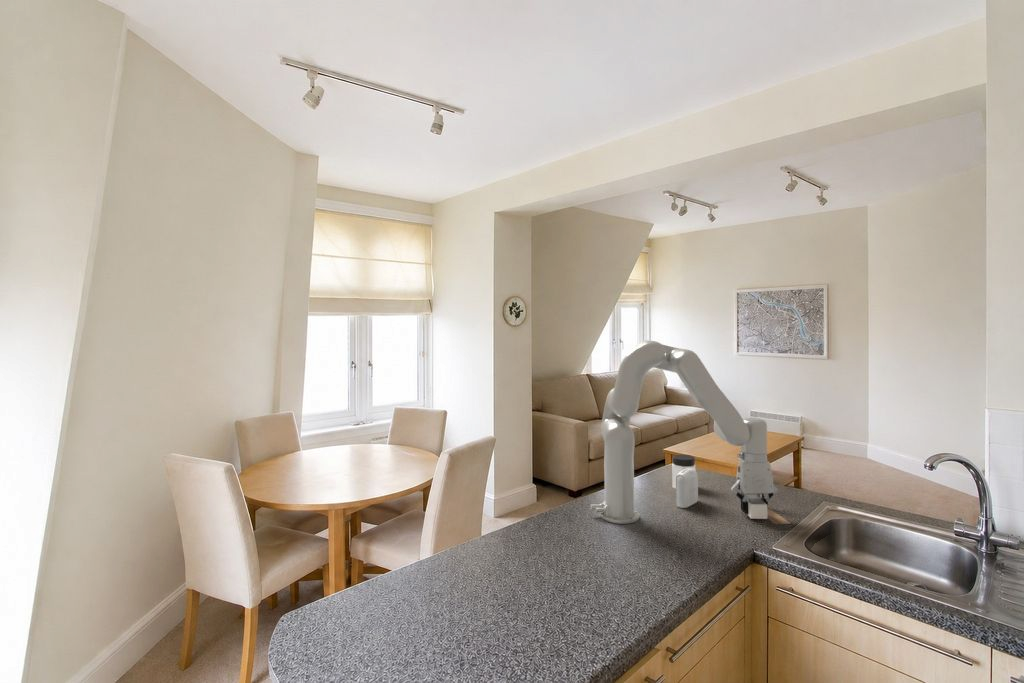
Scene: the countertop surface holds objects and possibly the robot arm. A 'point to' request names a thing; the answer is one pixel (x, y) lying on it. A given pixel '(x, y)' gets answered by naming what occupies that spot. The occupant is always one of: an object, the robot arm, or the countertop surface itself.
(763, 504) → the white and grey block
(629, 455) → the robot arm
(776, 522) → the strip
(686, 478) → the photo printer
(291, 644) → the countertop surface
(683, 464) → the jar
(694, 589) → the countertop surface
